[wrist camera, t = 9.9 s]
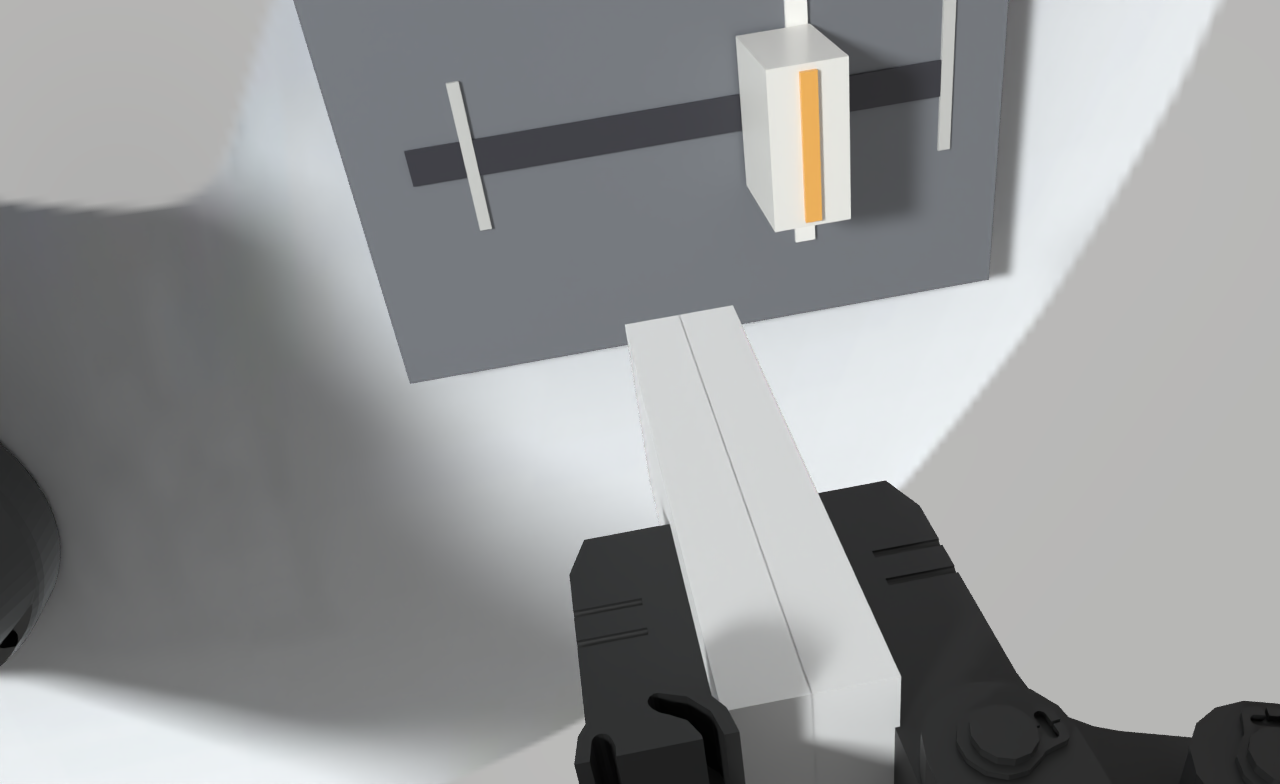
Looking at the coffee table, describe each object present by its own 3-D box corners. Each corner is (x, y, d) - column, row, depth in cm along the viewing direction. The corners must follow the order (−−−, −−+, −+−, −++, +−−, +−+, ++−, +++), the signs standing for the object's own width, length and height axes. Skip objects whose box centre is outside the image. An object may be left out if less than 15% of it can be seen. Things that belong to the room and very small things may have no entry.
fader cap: (746, 185, 34) (776, 234, 31) (735, 35, 32) (767, 71, 28) (814, 173, 34) (852, 220, 31) (810, 23, 32) (850, 57, 28)
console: (413, 356, 39) (409, 385, 37) (278, -99, 30) (264, -89, 28) (967, 256, 40) (990, 281, 38) (994, -213, 31) (1025, -211, 29)
